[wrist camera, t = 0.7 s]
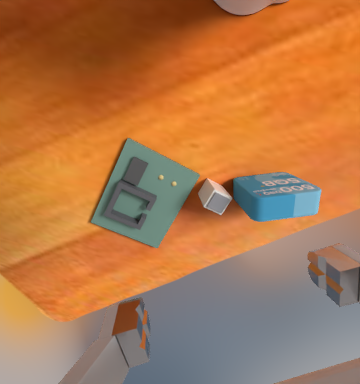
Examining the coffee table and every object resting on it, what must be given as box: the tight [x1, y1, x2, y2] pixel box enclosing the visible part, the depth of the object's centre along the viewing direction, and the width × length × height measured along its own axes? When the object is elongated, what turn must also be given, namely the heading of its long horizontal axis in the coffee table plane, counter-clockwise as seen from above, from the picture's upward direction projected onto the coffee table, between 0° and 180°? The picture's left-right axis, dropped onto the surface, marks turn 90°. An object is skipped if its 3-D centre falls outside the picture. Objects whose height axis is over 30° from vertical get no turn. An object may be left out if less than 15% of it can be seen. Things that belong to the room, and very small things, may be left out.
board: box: [91, 138, 200, 248], centre depth 42 cm, size 20×16×3 cm
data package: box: [233, 172, 321, 222], centre depth 39 cm, size 12×4×12 cm, turn 96°
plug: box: [198, 178, 232, 215], centre depth 40 cm, size 4×4×7 cm
